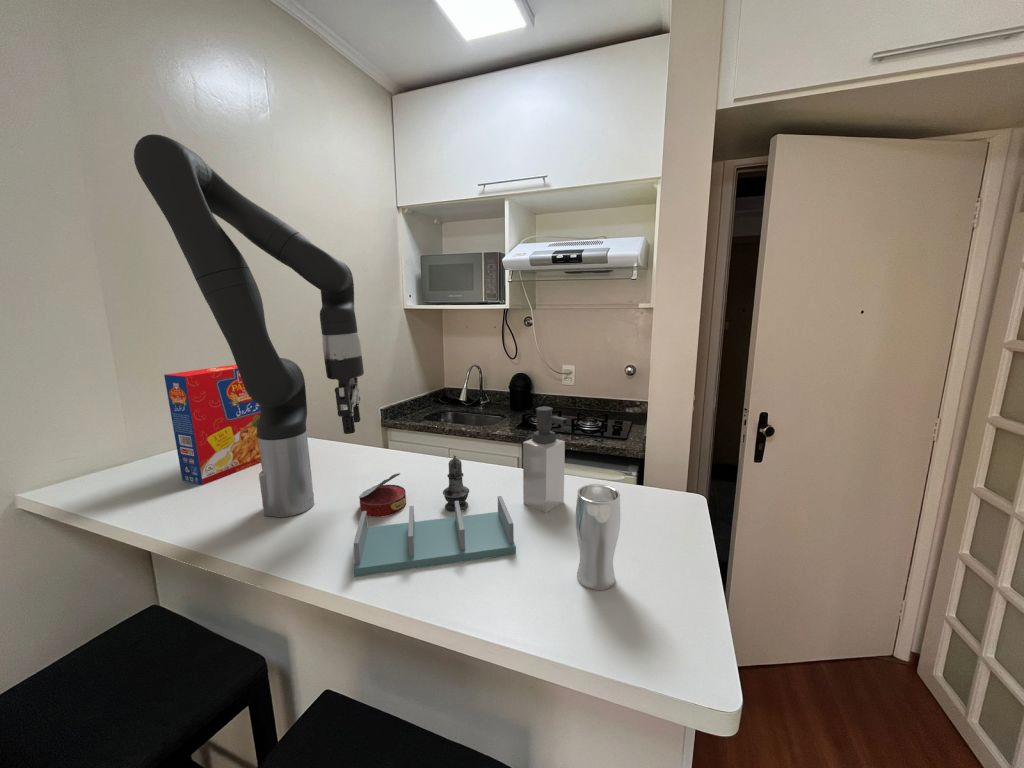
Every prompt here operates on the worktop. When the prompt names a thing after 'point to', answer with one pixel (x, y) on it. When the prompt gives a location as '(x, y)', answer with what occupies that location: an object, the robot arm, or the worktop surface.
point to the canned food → (383, 499)
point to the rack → (432, 541)
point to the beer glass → (597, 534)
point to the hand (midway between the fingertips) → (352, 427)
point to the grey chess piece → (455, 487)
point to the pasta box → (213, 423)
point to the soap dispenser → (544, 464)
